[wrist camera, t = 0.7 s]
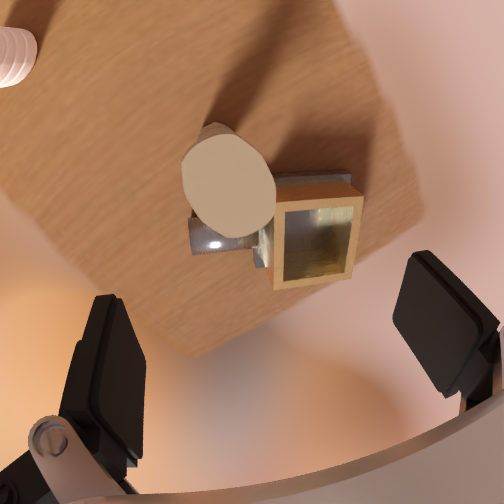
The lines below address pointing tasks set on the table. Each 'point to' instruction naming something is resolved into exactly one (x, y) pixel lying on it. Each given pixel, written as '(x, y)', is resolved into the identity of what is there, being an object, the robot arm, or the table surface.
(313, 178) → the socket
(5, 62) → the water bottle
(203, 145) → the handle
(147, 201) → the table surface
